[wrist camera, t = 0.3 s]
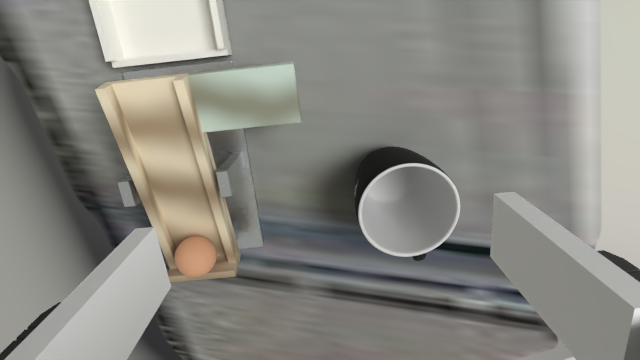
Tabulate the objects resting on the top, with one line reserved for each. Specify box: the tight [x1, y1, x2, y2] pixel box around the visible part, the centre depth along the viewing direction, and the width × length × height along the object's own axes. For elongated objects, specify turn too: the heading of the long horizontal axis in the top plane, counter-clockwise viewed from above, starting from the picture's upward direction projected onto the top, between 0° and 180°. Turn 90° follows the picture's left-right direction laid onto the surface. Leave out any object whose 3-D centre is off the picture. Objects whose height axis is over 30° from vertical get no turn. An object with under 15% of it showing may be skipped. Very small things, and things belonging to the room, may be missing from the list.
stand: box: [117, 60, 264, 249], centre depth 38 cm, size 21×11×8 cm, turn 6°
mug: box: [355, 147, 460, 261], centre depth 38 cm, size 12×9×10 cm
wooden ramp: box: [95, 61, 301, 283], centre depth 35 cm, size 20×16×4 cm
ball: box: [174, 236, 217, 277], centre depth 37 cm, size 4×4×4 cm
